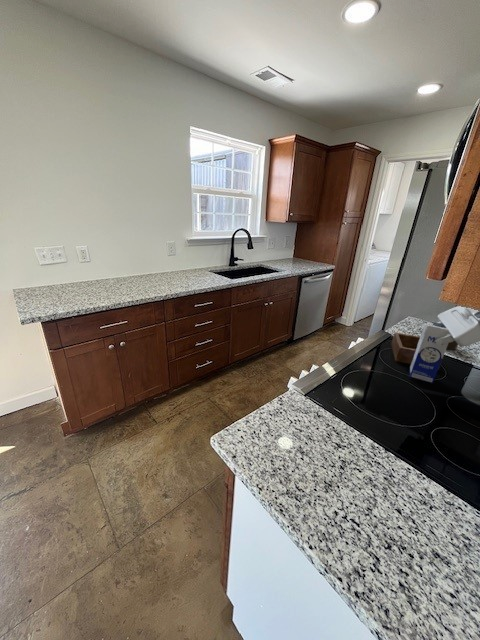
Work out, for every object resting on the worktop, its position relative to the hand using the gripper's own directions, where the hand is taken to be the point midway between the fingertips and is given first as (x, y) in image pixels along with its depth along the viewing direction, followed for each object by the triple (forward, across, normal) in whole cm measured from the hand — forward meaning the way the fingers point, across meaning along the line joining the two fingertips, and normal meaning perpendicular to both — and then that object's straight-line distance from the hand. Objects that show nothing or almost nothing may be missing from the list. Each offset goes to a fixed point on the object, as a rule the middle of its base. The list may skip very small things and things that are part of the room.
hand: (432, 337), depth 88 cm
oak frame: (+10, -14, +11) cm, 21 cm away
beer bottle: (0, -30, +22) cm, 37 cm away
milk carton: (+10, 0, +11) cm, 15 cm away
